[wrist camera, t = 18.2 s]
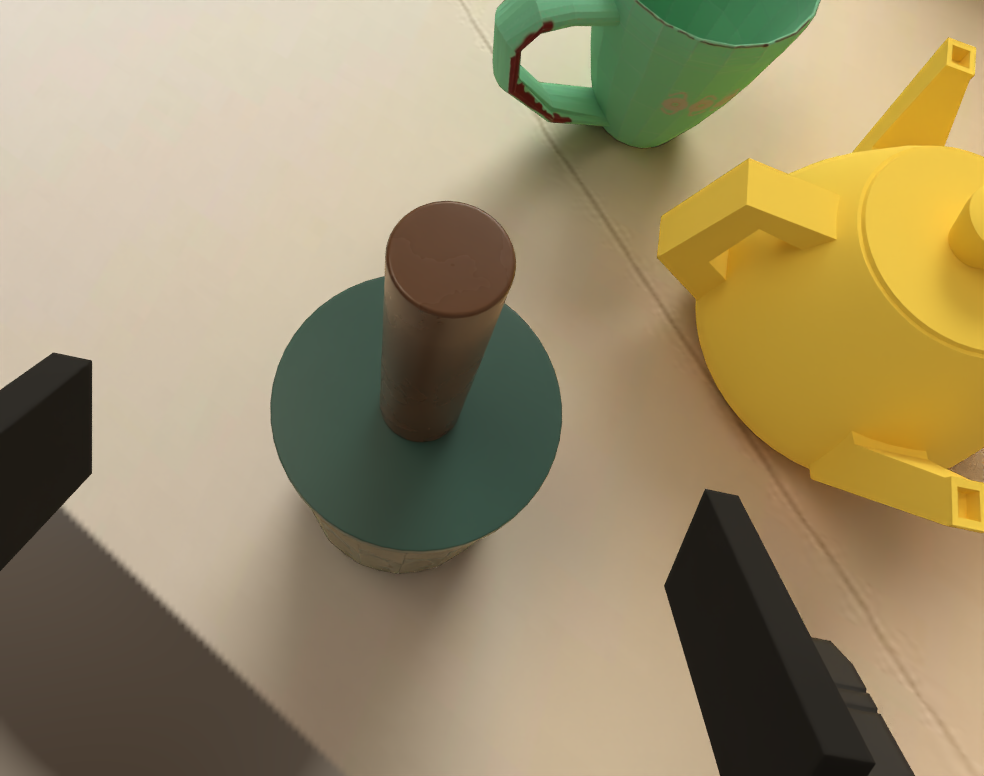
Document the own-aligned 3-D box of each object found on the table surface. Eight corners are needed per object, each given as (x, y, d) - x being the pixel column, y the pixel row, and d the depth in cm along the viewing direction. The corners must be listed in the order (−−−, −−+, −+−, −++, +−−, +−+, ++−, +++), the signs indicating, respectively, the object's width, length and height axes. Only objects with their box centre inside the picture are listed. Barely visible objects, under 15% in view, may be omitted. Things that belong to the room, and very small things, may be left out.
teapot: (1035, 405, 39) (1307, 308, 27) (807, 578, 34) (1025, 546, 23) (835, 157, 42) (1005, -19, 31) (601, 282, 37) (702, 126, 26)
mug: (675, 25, 43) (760, -145, 34) (751, 164, 41) (865, 23, 31) (439, 74, 40) (461, -101, 30) (508, 231, 37) (554, 93, 28)
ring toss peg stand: (288, 578, 21) (220, 527, 11) (263, 302, 24) (190, 70, 14) (578, 532, 23) (728, 453, 13) (526, 278, 25) (621, 58, 16)
